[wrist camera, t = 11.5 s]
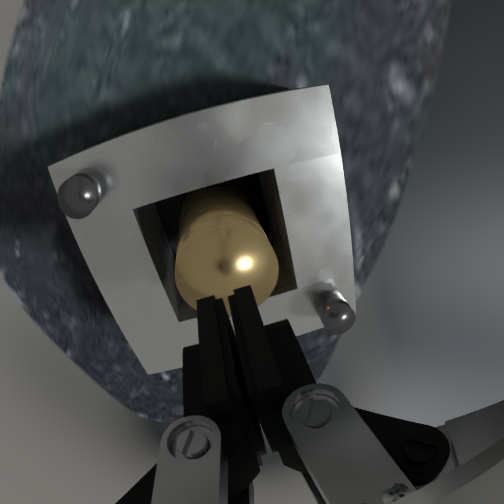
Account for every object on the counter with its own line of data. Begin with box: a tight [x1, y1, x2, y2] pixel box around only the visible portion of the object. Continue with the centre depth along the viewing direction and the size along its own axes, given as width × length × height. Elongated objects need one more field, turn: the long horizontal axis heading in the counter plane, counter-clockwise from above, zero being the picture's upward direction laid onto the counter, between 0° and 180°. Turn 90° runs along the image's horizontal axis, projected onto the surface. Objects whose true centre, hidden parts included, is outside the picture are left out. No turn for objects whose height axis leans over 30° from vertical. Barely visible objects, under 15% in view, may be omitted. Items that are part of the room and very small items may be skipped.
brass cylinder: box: [175, 181, 279, 317], centre depth 16 cm, size 4×4×7 cm
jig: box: [48, 85, 356, 375], centre depth 16 cm, size 12×12×7 cm
